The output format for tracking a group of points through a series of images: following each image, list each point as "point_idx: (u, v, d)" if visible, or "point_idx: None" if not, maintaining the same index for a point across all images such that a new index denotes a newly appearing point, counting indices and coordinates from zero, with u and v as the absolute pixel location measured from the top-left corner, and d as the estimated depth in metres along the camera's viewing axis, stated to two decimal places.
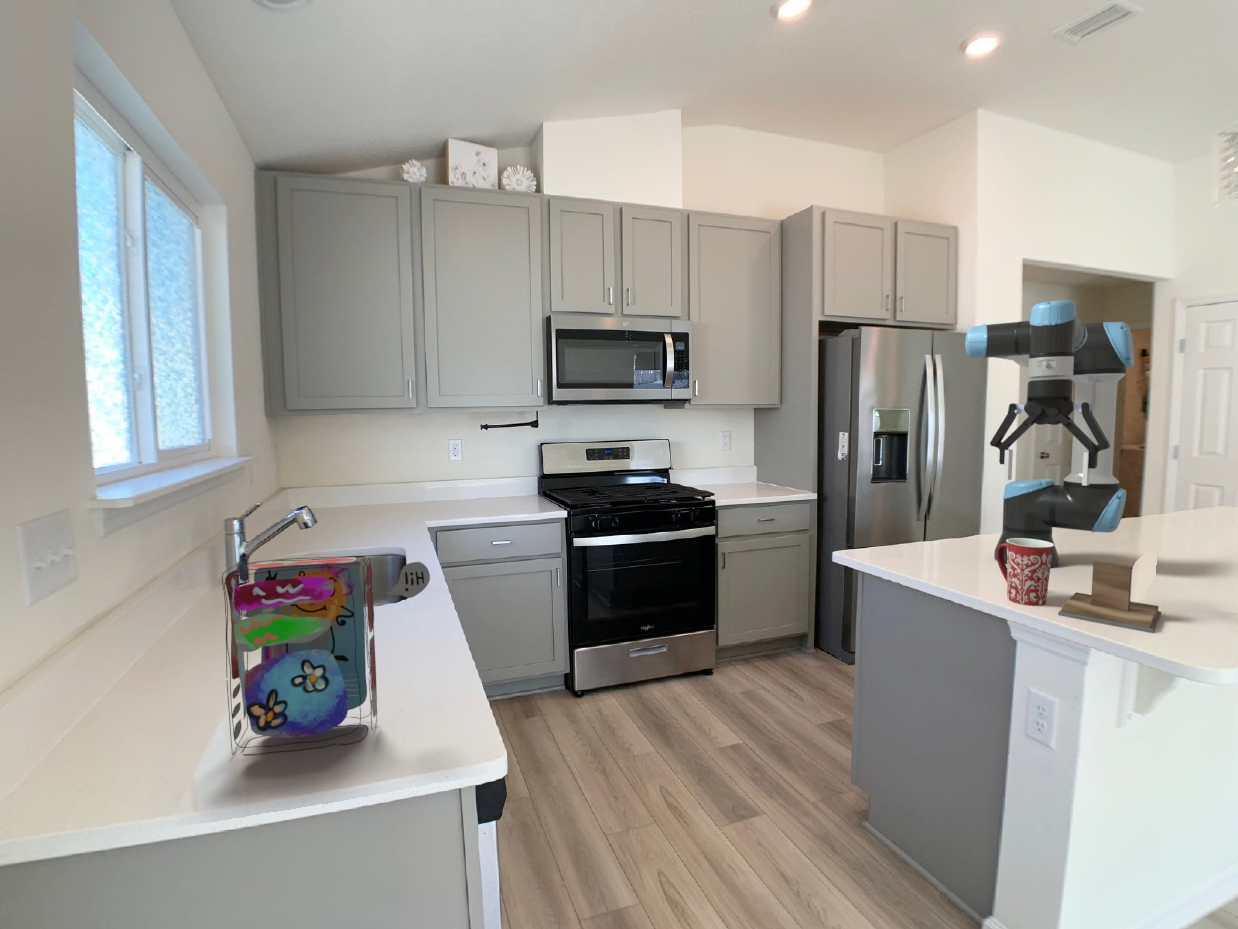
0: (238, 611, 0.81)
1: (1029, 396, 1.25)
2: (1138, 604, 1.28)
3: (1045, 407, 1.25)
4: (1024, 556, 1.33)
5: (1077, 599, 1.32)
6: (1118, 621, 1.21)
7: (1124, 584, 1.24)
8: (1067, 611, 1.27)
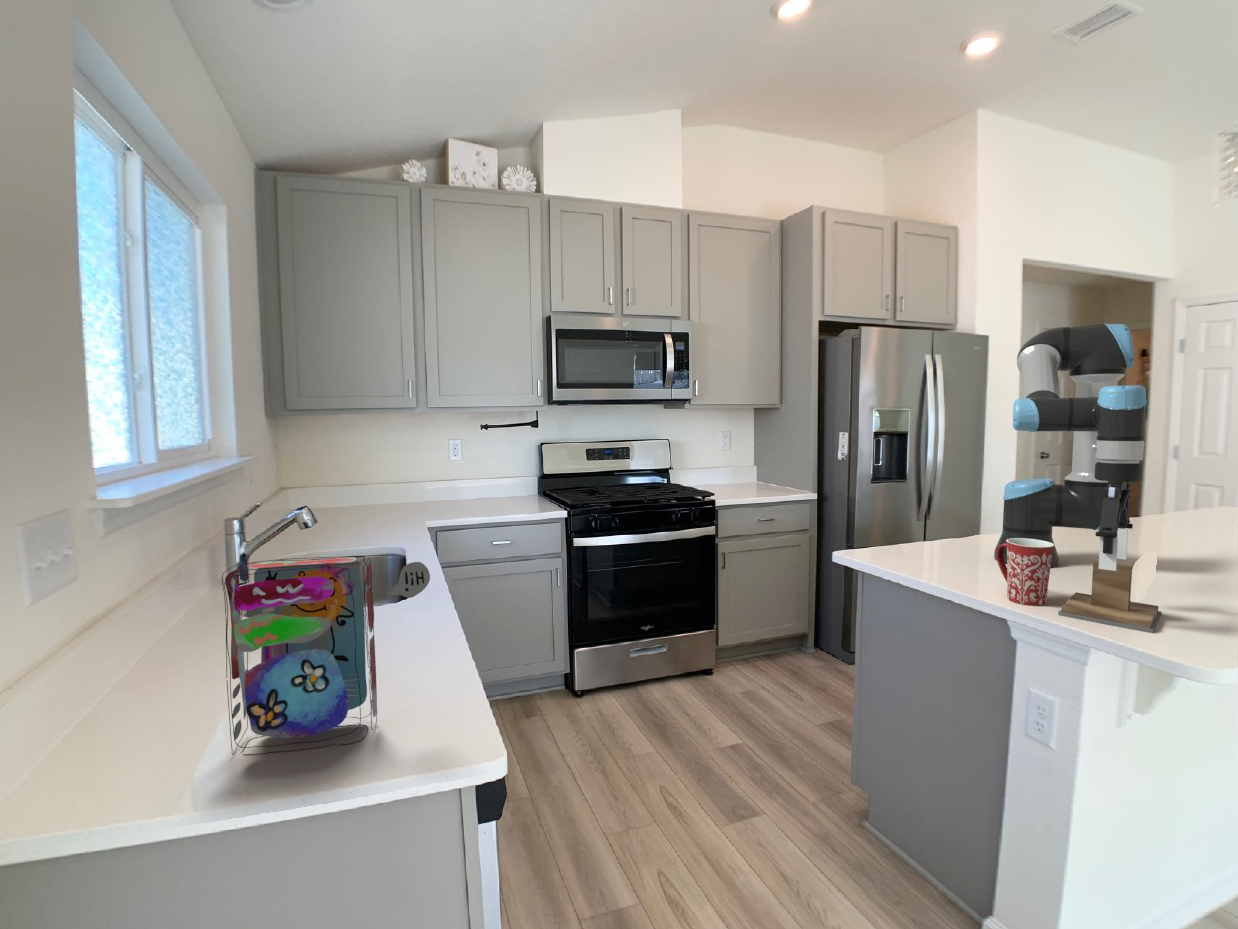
0: (238, 611, 0.81)
1: None
2: (1138, 604, 1.28)
3: None
4: (1024, 556, 1.33)
5: (1077, 599, 1.32)
6: (1118, 621, 1.21)
7: (1124, 584, 1.24)
8: (1067, 611, 1.27)
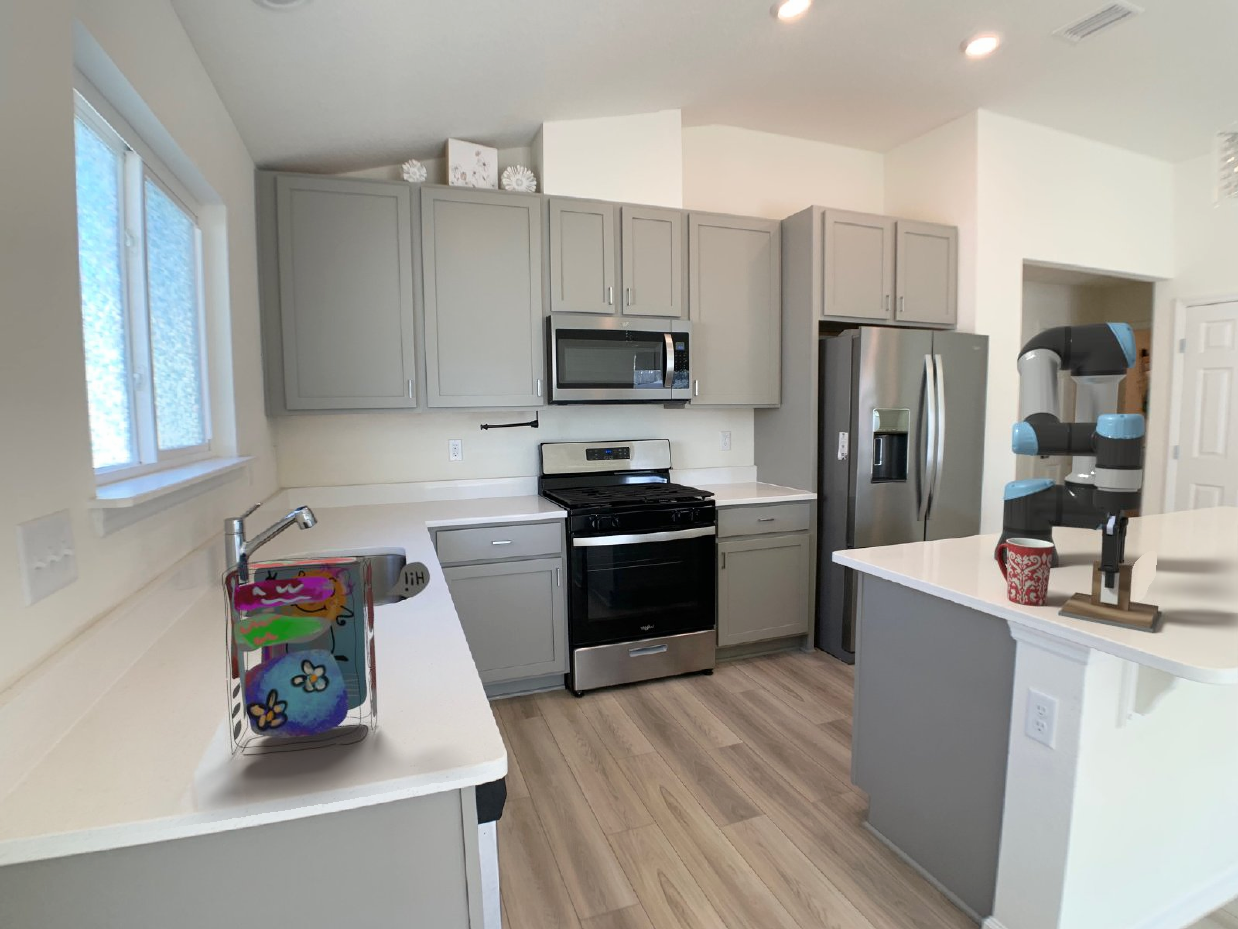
0: (238, 611, 0.81)
1: None
2: (1138, 604, 1.28)
3: None
4: (1024, 556, 1.33)
5: (1077, 599, 1.32)
6: (1118, 621, 1.21)
7: (1124, 584, 1.24)
8: (1067, 611, 1.27)
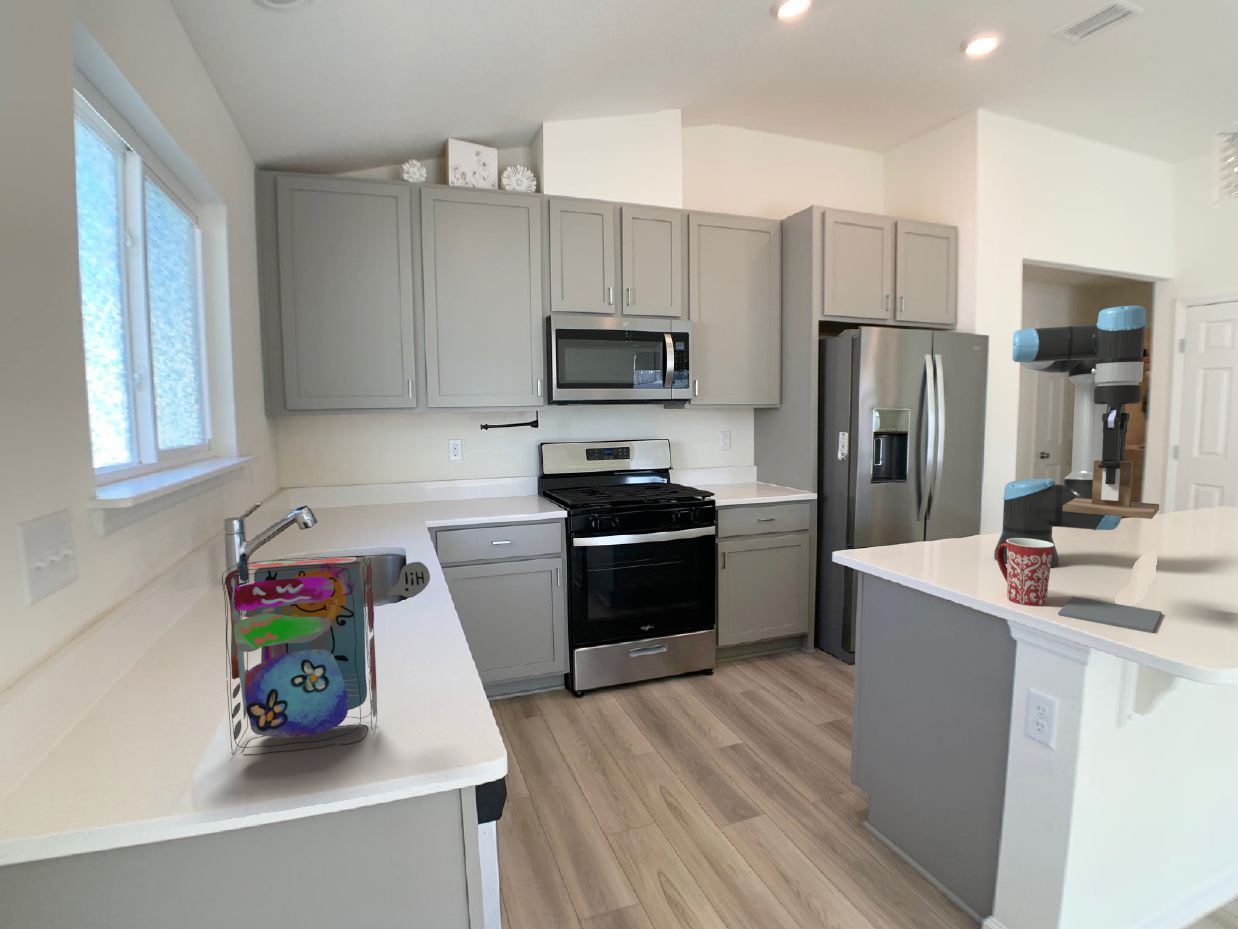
0: (238, 611, 0.81)
1: None
2: (1139, 503, 1.27)
3: None
4: (1024, 556, 1.33)
5: (1077, 501, 1.31)
6: (1119, 514, 1.20)
7: (1125, 480, 1.23)
8: (1068, 509, 1.26)
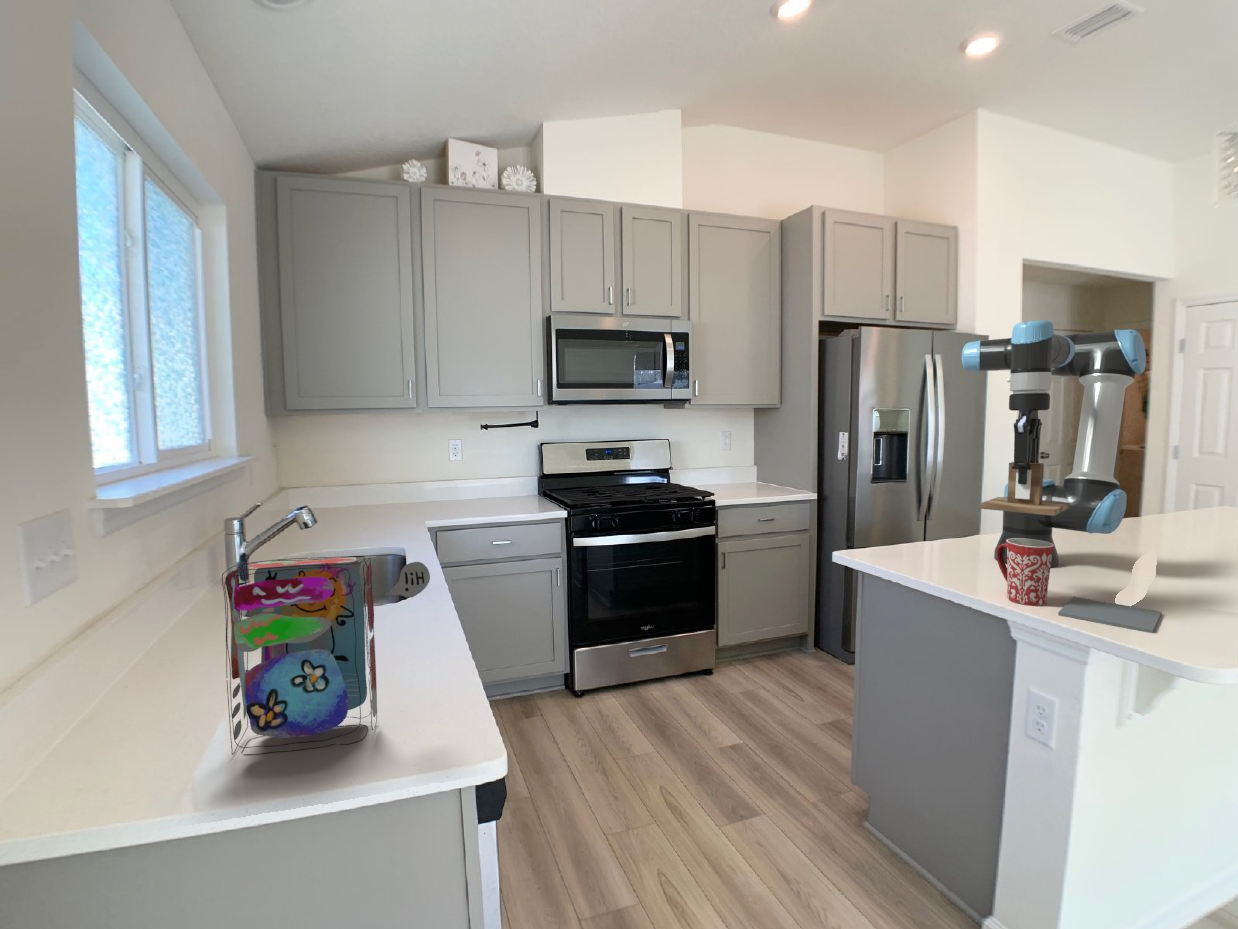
0: (238, 611, 0.81)
1: None
2: (1051, 502, 1.38)
3: None
4: (1024, 556, 1.33)
5: (996, 500, 1.42)
6: (1028, 511, 1.31)
7: (1035, 480, 1.34)
8: (984, 507, 1.37)
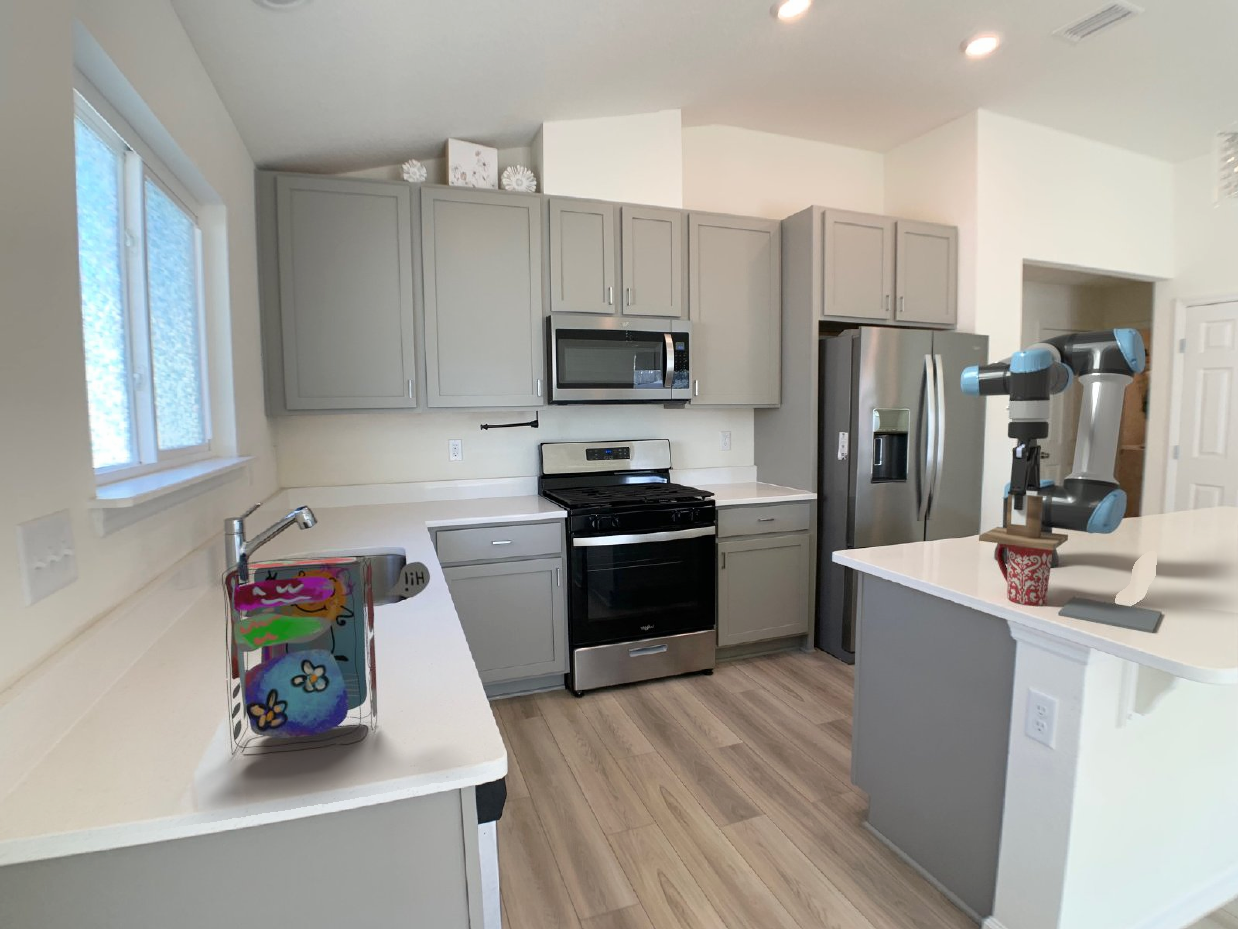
0: (238, 611, 0.81)
1: None
2: (1050, 533, 1.39)
3: None
4: (1025, 556, 1.33)
5: (996, 531, 1.42)
6: (1026, 545, 1.31)
7: (1034, 513, 1.35)
8: (983, 539, 1.37)
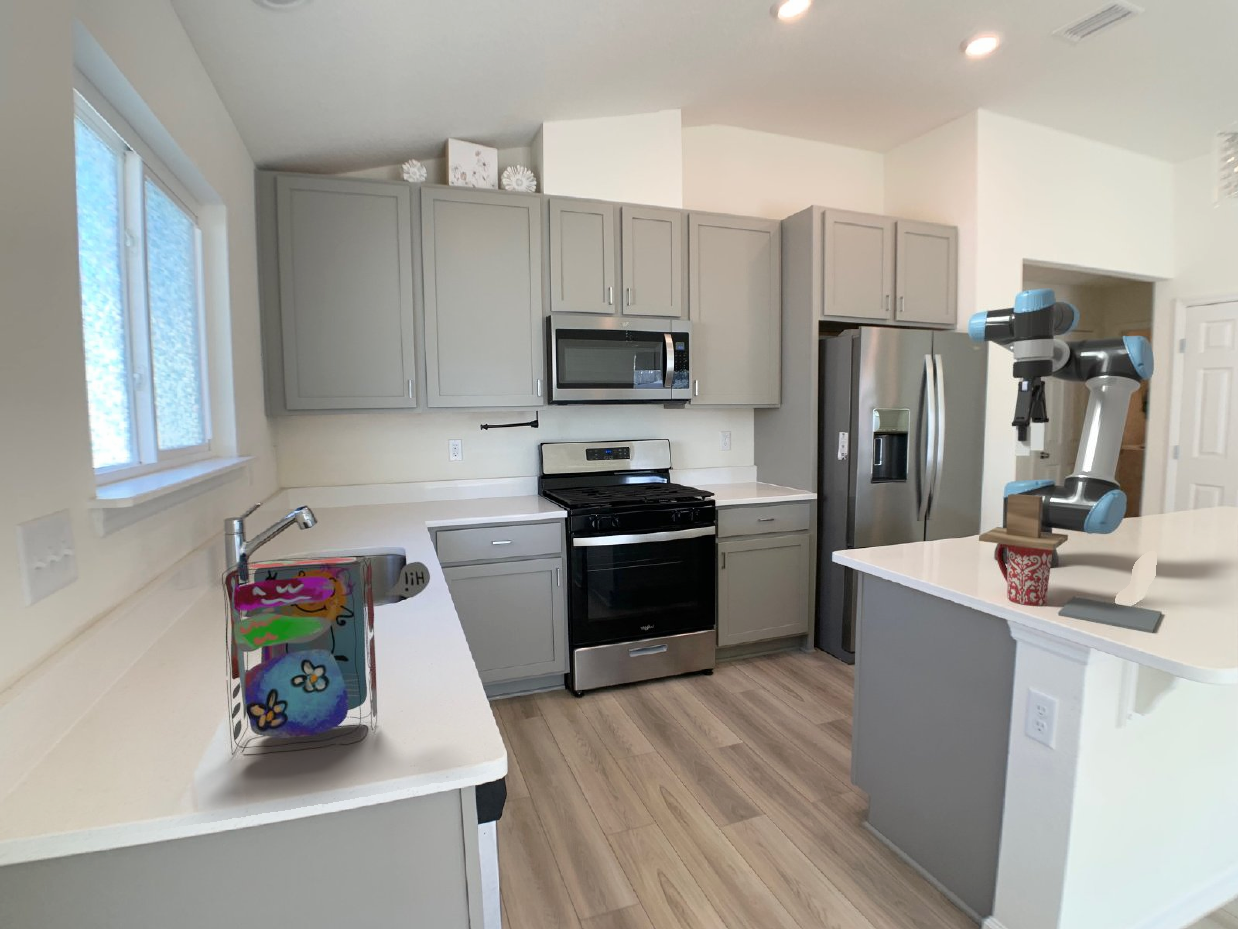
0: (238, 611, 0.81)
1: None
2: (1050, 533, 1.39)
3: None
4: (1024, 556, 1.33)
5: (995, 531, 1.42)
6: (1026, 545, 1.31)
7: (1034, 513, 1.35)
8: (983, 539, 1.37)
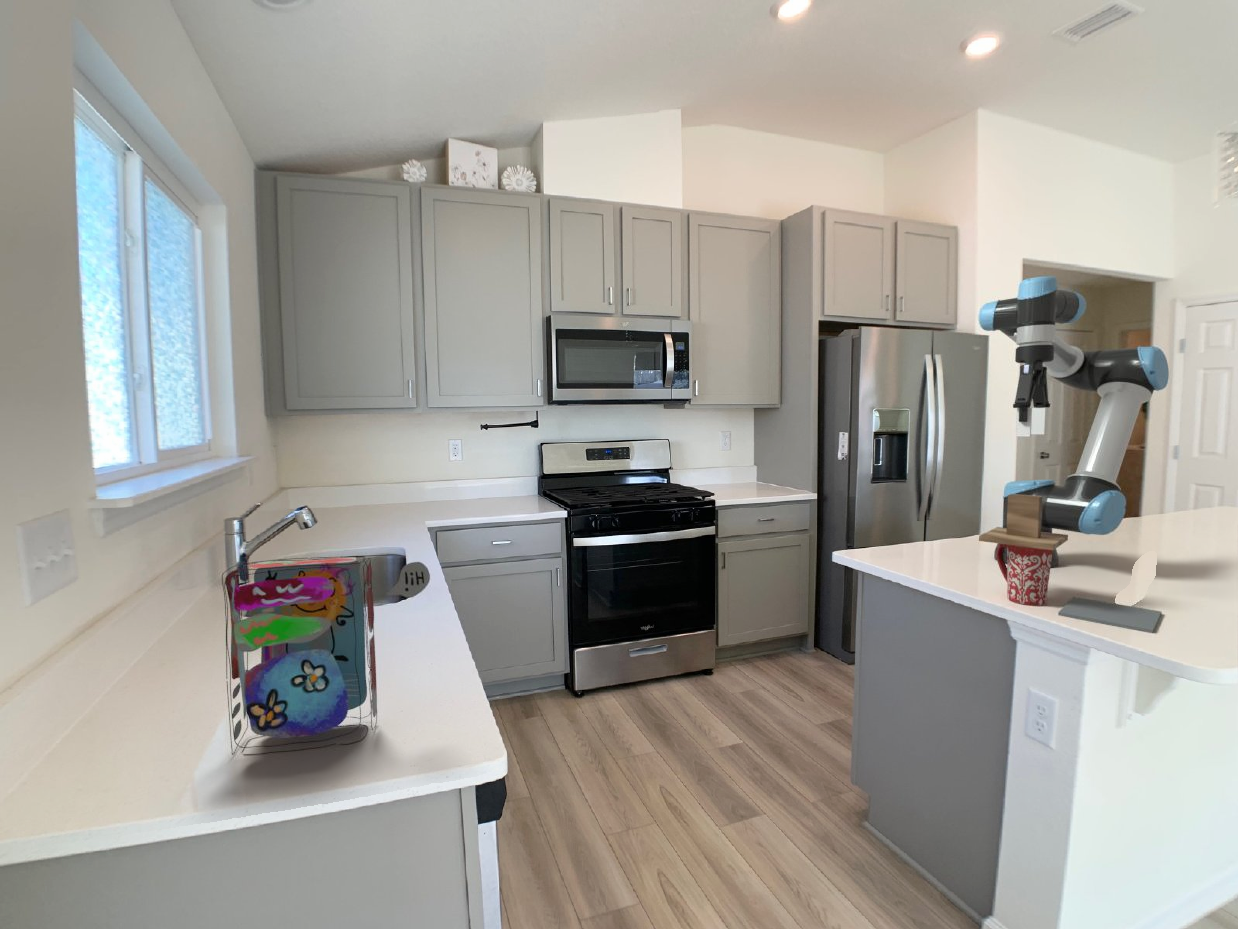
0: (238, 611, 0.81)
1: None
2: (1050, 534, 1.39)
3: None
4: (1024, 556, 1.33)
5: (996, 531, 1.42)
6: (1026, 545, 1.31)
7: (1034, 513, 1.35)
8: (983, 539, 1.37)
